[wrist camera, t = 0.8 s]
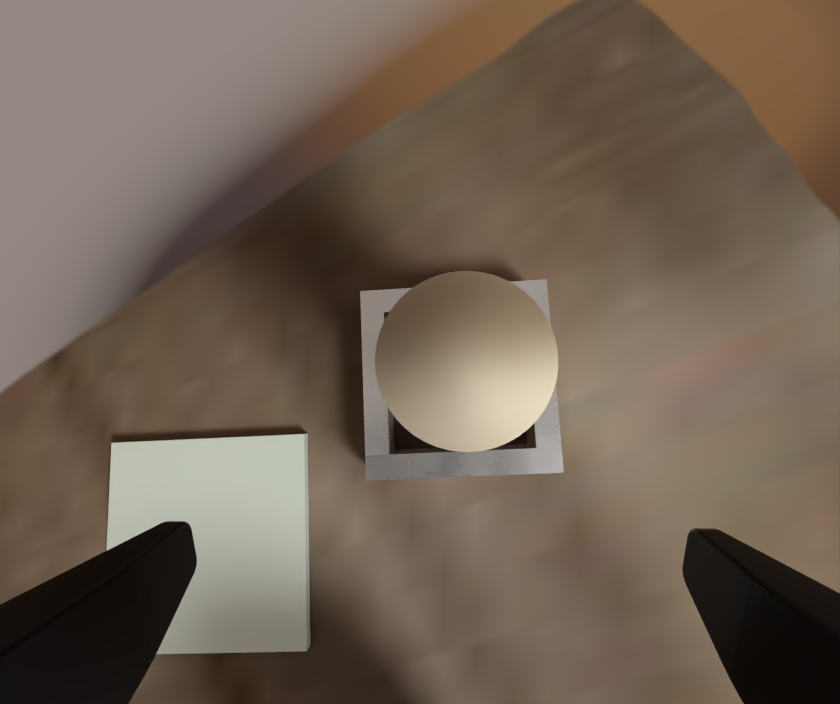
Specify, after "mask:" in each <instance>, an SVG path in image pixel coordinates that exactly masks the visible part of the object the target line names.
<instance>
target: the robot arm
mask: <svg viewBox="0 0 840 704" xmlns="http://www.w3.org/2000/svg"><path fill="white" fill-rule="evenodd" d="M196 565H197V556H196V551H195V545H194V540H193V534H192V529H191V526H190V525H189V523H187V522H185V521H166V522H163V523H160V524H158V525H157V526H155V527H153V528H151V529H149V530H147V531H145V532H143V533H141V534H139V535H137V536H135V537H133V538H131V539H129V540H127V541H125V542H123V543H121V544H119V545H117V546H115V547H113V548H111V549H109V550H107V551H105V552H103V553H101V554H99V555H97V556H95V557H93V558H91V559H89V560H87V561H86V562H84V563H82V564H80V565H78V566H76V567H74V568H72V569H70V570H68V571H66V572H64V573H62V574H60V575H58V576H56V577H54V578H52V579H50V580H48V581H46V582H44V583H42V584H40V585H38V586H36V587H34V588H32V589H30V590H28V591H26V592H24V593H22V594H20V595H18V596H17V597H15V598H13V599H11V600H9V601H7V602H5V603H3V604H1V605H0V704H128V703H129V702H130V700H131V698H132V696H133V695H134V693H135V691H136V689H137V688H138V686H139V684H140V682H141V681H142V679H143V677H144V676H145V674H146V672H147V670H148V668H149V666H150V665H151V663H152V661H153V659H154V657H155V655H156V653H157V651H158V649H159V647H160V645H161V643H162V641H163V639H164V637H165V635H166V633H167V630H168V628H169V626H170V624H171V622H172V620H173V618H174V616H175V613H176V611H177V609H178V607H179V605H180V603H181V601H182V598H183V596H184V594H185V592H186V590H187V588H188V586H189V584H190V581H191V579H192V577H193V575H194V573H195V569H196ZM683 577H684V580H685V583H686V585H687V588H688V590H689V592H690V594H691V596H692V599H693V601H694V603H695V605H696V607H697V609H698V612H699V614H700V616H701V618H702V620H703V623H704V625H705V627H706V629H707V631H708V633H709V636H710V638H711V640H712V642H713V644H714V646H715V649H716V651H717V653H718V655H719V657H720V660H721V662H722V664H723V666H724V668H725V670H726V672H727V674H728V676H729V678H730V680H731V682H732V683H733V685H734V687H735V689H736V691H737V693H738V694H739V696H740V698H741V700H742V701H743V703H744V704H840V593H838V592H836V591H834V590H832V589H830V588H828V587H826V586H825V585H823V584H821V583H819V582H817V581H815V580H813V579H811V578H809V577H807V576H806V575H804V574H802V573H800V572H798V571H796V570H794V569H792V568H790V567H788V566H787V565H785V564H783V563H781V562H779V561H777V560H775V559H773V558H771V557H770V556H768V555H766V554H764V553H762V552H760V551H758V550H756V549H754V548H752V547H751V546H749V545H747V544H745V543H743V542H741V541H739V540H737V539H735V538H733V537H732V536H730V535H728V534H726V533H724V532H722V531H720V530H718V529H701V528H695V529H692V530H691V531H690V532H689V534H688V537H687V543H686V550H685V556H684V562H683Z"/></svg>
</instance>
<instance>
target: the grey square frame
mask: <svg viewBox="0 0 840 704" xmlns="http://www.w3.org/2000/svg"><path fill="white" fill-rule="evenodd" d="M511 283H513V284H515V285H516V286H518V287H519V288H520V289H522V290H523V291H524V292H526V293H527V294H528V295H529V296H530V297H531V298H532V299H533V300H534V301H535V302H536V303H537V305H538V306H539V307H540V308H541V310H542V311H543V313H544V314H545V316H546V318H547V319H548V321H549V324H550V313H549V302H548V291H547V280H546V279H544V280H528V281H512V282H511ZM410 289H412V288H402V289H386V290H370V291H360V300H361V333H362V366H363V398H364V431H365V464H366V480H390V479H415V478H440V477H465V476H490V475H515V474H540V473H564V470H563V459H562V448H561V436H560V425H559V414H558V403H557V392H556V384H555V388H554V391H553V393H552V396H551V398H550V401H549V403H548V404H547V406H546V408H545V410H544V411H543V413H542V414H541V415H540V417H539V418H538V419H537V421H536V422H535V423H534V424H533V425H532V426H531V427H530V428H529V429H528V430H527V431H526V440H527V444H515V445H501V446H499V447H496V448H493V449H489V450H485V451H477V452H457V451H451V450H445V449H442V448H423V449H400V450H395V433H394V415H393V414H392V413H391V411H390V410H389V408H388V407H387V405H386V403H385V401H384V399H383V397H382V394H381V392H380V389H379V386H378V381H377V377H376V369H375V351H376V345H377V340H378V336H379V333H380V330H381V327H382V325H383V323H384V321H385V319H386V317H387V315H388V314H389V312H390V310H391V309H392V308H393V306H394V305H395V304H396V303H397V301H398V300H399V299H400V298H401V297H402V296H403V295H404V294H405V293H407V292H408V291H409V290H410ZM550 326H551V325H550Z"/></svg>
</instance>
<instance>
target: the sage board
mask: <svg viewBox="0 0 840 704" xmlns="http://www.w3.org/2000/svg"><path fill="white" fill-rule="evenodd" d="M166 521H185V522H187V523H189V525H190V526H191V529H192V534H193V540H194V545H195V551H196V556H197V565H196V569H195V573H194V575H193V577H192V579H191V581H190V584H189V586H188V588H187V590H186V592H185V594H184V596H183V598H182V601H181V603H180V605H179V607H178V609H177V611H176V613H175V616H174V618H173V620H172V622H171V624H170V626H169V628H168V630H167V633H166V635H165V637H164V639H163V641H162V643H161V645H160V647H159V649H158V651H157V653H156V654H194V653H247V652H299V651H307V650H308V648H309V647H310V574H309V499H308V434H286V435H264V436H243V437H221V438H199V439H178V440H156V441H134V442H116V443H111V465H110V487H109V509H108V531H107V550H109V549H111V548H113V547H115V546H117V545H119V544H121V543H123V542H125V541H127V540H129V539H131V538H133V537H135V536H137V535H139V534H141V533H143V532H145V531H147V530H149V529H151V528H153V527H155V526H157V525H158V524H160V523H163V522H166Z"/></svg>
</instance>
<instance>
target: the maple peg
mask: <svg viewBox="0 0 840 704" xmlns="http://www.w3.org/2000/svg"><path fill="white" fill-rule="evenodd" d="M375 369H376V377H377V381H378V386H379V389H380V392H381V394H382V397H383V399H384V401H385V403H386V405H387V407H388V408H389V410H390V411H391V413H392V414H393V415H394V417H395V418H396V419H397V420H398V421H399V423H400V424H401V425H402V426H403V427H404V428H405V429H407V430H408V431H409V432H410V433H412V434H413V435H414V436H416V437H417V438H419V439H421V440H422V441H424V442H426V443H428V444H431V445H433V446H435V447H439V448H442V449H445V450H451V451H457V452H477V451H485V450H489V449H493V448H496V447H499V446H501V445H504V444H506V443H508V442H510V441H512V440H514V439H515V438H517V437H519V436H520V435H521V434H523V433H524V432H525V431H527V430H528V429H529V428H530V427H531V426H532V425H533V424H534V423H535V422H536V421H537V419H538V418H539V417H540V415H541V414H542V413H543V411H544V410H545V408H546V406H547V404H548V403H549V401H550V398H551V396H552V393H553V391H554V388H555V384H556V380H557V373H558V351H557V345H556V340H555V337H554V333H553V330H552V328H551V326H550V324H549V321H548V319H547V318H546V316H545V314H544V313H543V311H542V310H541V308H540V307H539V306H538V305H537V303H536V302H535V301H534V300H533V299H532V298H531V297H530V296H529V295H528V294H527V293H526V292H524V291H523V290H522V289H520V288H519V287H518V286H516V285H515V284H513V283H511V282H509V281H507V280H505V279H503V278H500V277H498V276H495V275H492V274H488V273H484V272H477V271H455V272H448V273H444V274H440V275H437V276H434V277H432V278H429V279H427V280H425V281H423V282H421V283H419V284H418V285H416V286H415V287H413V288H412V289H410V290H409V291H408V292H407V293H405V294H404V295H403V296H402V297H401V298H400V299H399V300H398V301H397V303H396V304H395V305H394V306H393V308H392V309H391V310H390V312H389V314H388V315H387V317H386V319H385V321H384V323H383V325H382V327H381V330H380V333H379V336H378V340H377V345H376V351H375Z"/></svg>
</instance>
